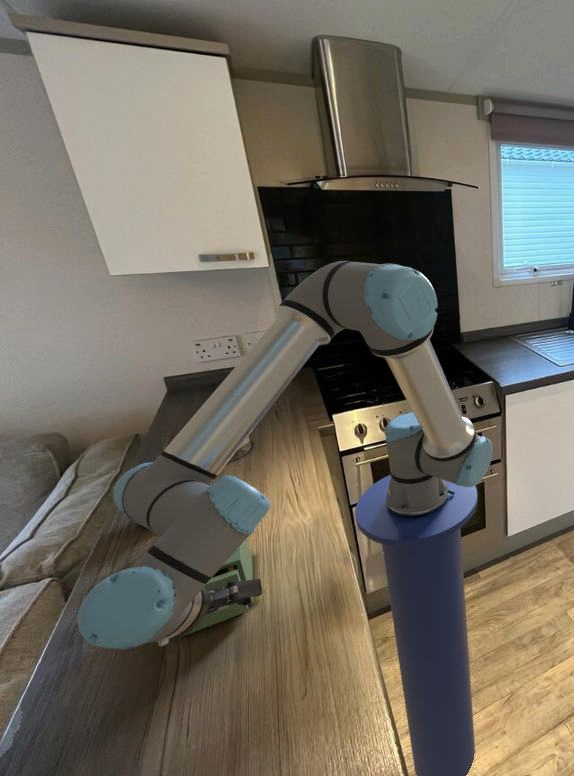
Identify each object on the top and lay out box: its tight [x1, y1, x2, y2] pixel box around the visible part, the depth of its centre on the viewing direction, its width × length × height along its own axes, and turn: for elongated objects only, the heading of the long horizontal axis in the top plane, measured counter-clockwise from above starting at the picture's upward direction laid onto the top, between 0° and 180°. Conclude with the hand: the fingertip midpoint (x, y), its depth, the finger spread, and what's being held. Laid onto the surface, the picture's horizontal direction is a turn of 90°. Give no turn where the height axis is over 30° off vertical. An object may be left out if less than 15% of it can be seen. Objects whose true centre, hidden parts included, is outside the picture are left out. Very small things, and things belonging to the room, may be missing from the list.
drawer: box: [183, 565, 249, 637], centre depth 78 cm, size 18×10×9 cm, turn 32°
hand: (207, 610), depth 75 cm, fingers closed on drawer, 10 cm apart
